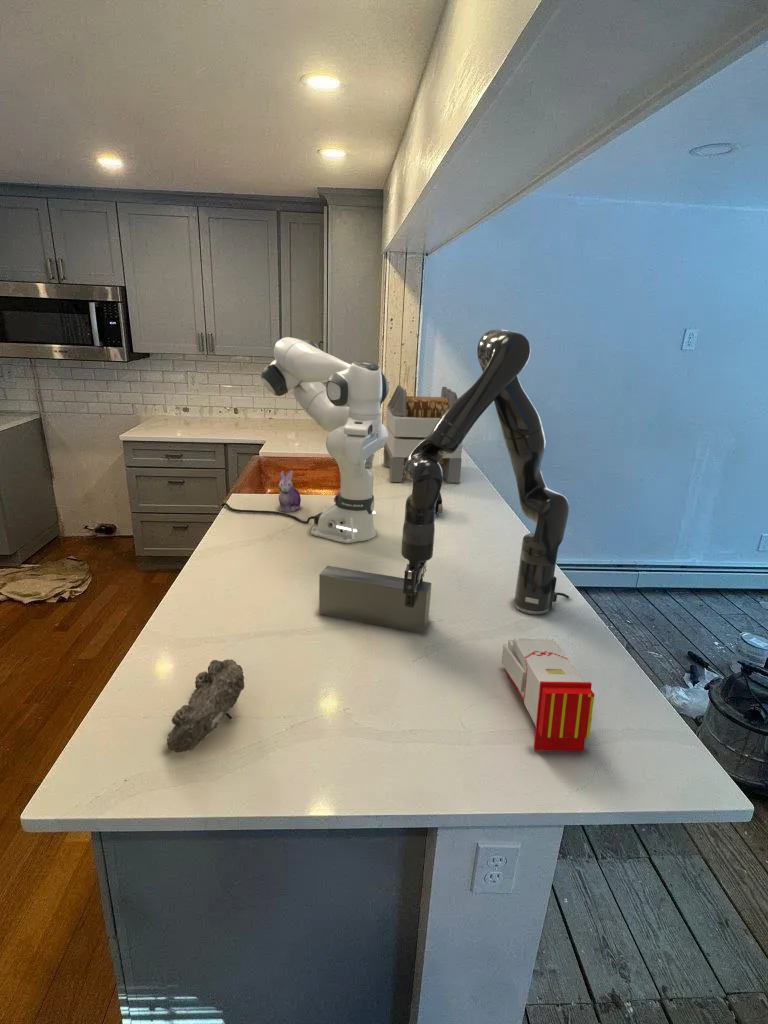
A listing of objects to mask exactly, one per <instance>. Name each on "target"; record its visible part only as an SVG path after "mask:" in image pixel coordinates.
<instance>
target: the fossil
mask: <svg viewBox="0 0 768 1024" xmlns="http://www.w3.org/2000/svg"><path fill="white" fill-rule="evenodd" d="M243 670H244V669H243V667H242V665H240V664H237V662H236V661H235V660H234V659H232V658H231V659H227V658H226V659H224V660H223V661H222V660H217V659H212V660H211V661H210V663H209V665H208V666H207V671H201V672H199V673H198V674H197V675H196V676H195V680H194V684H195V685H194V687H195V689H194V690H193V693H192V694H191V697H190V698H189V700H188V704H184V705H182V706H181V707H180V709H177V710H176V711H175V713H174V715H173V716H172V718H171V723H172V724H173V727H172V730H171V731H170V732H168V734H167V738H166V741H167V742H166V745H167V749H168V750H169V751H173V752H174V753H176V754H178V753H182V752H188V751H189V752H192V751H193V750H195V748H196V747H197V746H199V744H200V743H201V742H203V741H204V740H205V739H206V738H207V737H208V736H209V735H210V734H211V733H212V732H214V730H215V729H217V727H218V726H219V724H220V722H221V721H222V720H223V719H224V718H225V716H226V717H227V719H229V720H233V717H232V715H230V714H229V710H230V709H231V708H234V706H235V704H236V703H237V702H238V699H239V697H240V695H241V693H242V691H243V690H245V689H244V688H245V675H244V671H243Z"/></svg>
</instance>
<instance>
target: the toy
mask: <svg viewBox="0 0 768 1024" xmlns="http://www.w3.org/2000/svg"><path fill="white" fill-rule="evenodd" d="M500 661H501V662H500V663H501V664H502V666H503V668H504V671H505V673H506V674H507V676H508V678H509V679H510V681H511V684H512V685H513V686H514V688H515V691H517V693H518V695H519V696H520V699H521V700H522V702H523V704H524V706H525V708H526V711H527V712H528V714H529V716H530V718H531V720H532V723H533V724H534V726H535V731H534V741H533V750H534V751H554V752H555V751H556V752H557V751H558V752H564V751H565V752H584V751H585V743H586V739H590V737H591V736H590V735H591V727H592V718H593V710H594V702H595V692H593V690H592V685H593V684H592V682H590V681H585V679H584V678H583V676H582V675H581V674H580V673H579V672H578V670H577V669H576V668H575V666H574V665H573V663H572V662H571V661H570V659H569V658H568V657H567V655H566V654H565V653H564V651H563V650H562V649H561V648H560V646H559V644H558V643H557V642H556V640H554V638H517V637H515V638H512V639H508V643H507V644H503V647H502V653H501V660H500Z"/></svg>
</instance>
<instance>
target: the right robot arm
mask: <svg viewBox="0 0 768 1024" xmlns="http://www.w3.org/2000/svg"><path fill="white" fill-rule="evenodd" d="M476 351H477V352H476V355H477V359H478V360H477V361H478V362H479V366H480V368H481V370H482V373H481V375H480V376H479V377H478V379H477V380H476V381H475V382H474V383H473V384H472V386H470V388H469V389H467V390H466V391H465V392H464V393H463V394H462V395H460V396H459V397H457V398H458V399H457V400H456V401H455V402H454V403H452V404H451V405H450V407H449V408H448V409H447V410H446V411H445V412H444V414H443V415H442V417H441V418H440V419H439V421H438V422H437V424H436V425H435V427H434V428H433V430H432V431H431V433H430V434H429V435H428V436H427V437H426V438H425V439H424V440H423V441H422V442H421V443H420V444H419V445H418V446H417V447H416V448H415V449H414V450H413V451H412V453H411V454H410V455H409V457H408V458H407V460H406V463H405V465H404V468H403V471H404V474H405V476H406V477H407V479H408V480H409V481H410V482H412V489H411V494H410V495H408V496H407V498H406V500H405V508H404V521H403V526H402V538H401V550H400V551H401V552H400V553H401V556H402V557H403V558H404V559H405V560H407V561H408V563H407V564H406V568H405V569H404V576H403V578H404V588H403V594H406V597H405V606H406V607H411V608H413V607H414V605H415V593H416V588H417V585H419V584H420V581H424V577H425V573H426V572H427V562H428V561H429V560H431V559H432V558H433V556H434V546H435V545H434V544H435V532H436V527H435V520H436V514H435V506H436V502H437V499H438V496H439V493H440V494H441V489H442V486H443V480H444V479H443V478H444V476H443V475H444V474H443V473H442V468H441V466H440V464H439V463H438V462H439V461H440V460H441V459H442V458H443V456H444V455H446V454H452V453H454V452H455V451H456V449H457V448H458V447H459V445H460V444H461V442H462V441H463V442H464V439H465V438H466V437H467V436H468V434H469V433H470V431H471V429H472V428H473V426H474V425H475V424H476V423H477V421H478V420H479V418H480V417H481V416H482V415H483V413H484V412H485V411H486V410H487V409H488V407H490V406H491V405H492V403H493V402H494V406H495V407H494V408H495V410H496V414H497V418H498V420H499V424H500V428H501V433H502V436H503V440H504V443H505V447H506V449H507V452H508V455H509V458H510V462H511V466H512V469H513V473H514V476H515V480H516V486H517V493H518V499H519V506H520V509H521V511H522V514H523V515H524V516H525V517H526V518H527V519H528V520H530V521H532V522H534V523H536V525H535V530H534V532H529V533H526V534H525V535H524V536H523V538H522V542H521V550H520V555H519V556H520V557H519V564H518V573H517V578H516V587H515V593H514V599H513V607H514V608H515V609H516V610H518V611H519V612H521V613H525V614H528V615H534V616H537V615H538V616H540V615H544V614H547V613H548V612H549V611H550V610H552V609H553V604H554V603H556V602H557V600H558V596H561V597H564V598H566V599H569V598H570V596H569V595H568V594H566V593H563V592H556V591H555V590H556V585H557V576H555V572H556V566H557V559H558V554H559V553H558V552H559V547H560V545H561V543H562V542H563V540H564V538H565V537H564V536H565V531H566V527H567V523H568V518H569V514H570V505H569V500H568V499H567V497H566V496H565V495H563V494H561V493H559V492H558V491H555V490H552V489H550V488H548V486H547V484H546V482H545V480H544V476H543V473H542V460H543V458H544V454H545V452H546V451H545V450H546V443H547V442H546V436H545V432H544V428H543V423H542V421H541V420H542V419H541V417H540V415H539V412H538V411H537V409H536V408H535V406H534V404H533V403H532V401H531V399H530V397H529V396H528V395H527V393H526V392H525V390H524V388H523V387H522V384H521V382H520V378H519V376H518V375H519V374H520V373H521V372H522V370H523V369H524V368H525V367H526V365H527V364H528V362H529V360H530V357H531V343H530V341H529V339H528V338H527V336H525V335H524V334H522V333H520V332H517V331H512V330H506V329H497V328H495V329H489V330H487V331H486V332H484V333H483V334H482V335H481V337H480V338H479V341H478V343H477V348H476ZM415 580H416V581H415ZM409 585H410V586H412V589H411V588H408V587H409Z"/></svg>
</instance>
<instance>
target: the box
mask: <svg viewBox="0 0 768 1024" xmlns="http://www.w3.org/2000/svg"><path fill="white" fill-rule="evenodd" d="M415 581H416V580H415ZM318 583H319V585H318V587H319V589H318V592H319V593H318V596H319V597H318V599H319V600H318V602H319V603H318V614H319V615H322V616H327V617H331V618H336V619H337V618H338V619H343V620H347V621H354V622H359V623H363V624H369V625H375V626H380V627H385V628H390V629H394V630H395V629H396V630H400V631H406V632H412V633H418V634H421V635H424V634H425V632H426V630H427V626H428V624H429V620H430V619H429V617H430V605H431V594H432V593H431V592H432V582H429V581H424V580H423V581H420V584H419V585H417V588H416V593H415V605H414V607H413V608H411V607H406V606H405V597H406V594H403V588H404V577H400V576H393V575H388V574H381V573H375V572H369V571H362V570H357V569H352V568H345V567H339V566H333V565H327V566H325V568H324V569H323V570H322V571H321V572H320V573H319V581H318ZM408 588H411V589H412V586H410V585H409V587H408Z"/></svg>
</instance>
